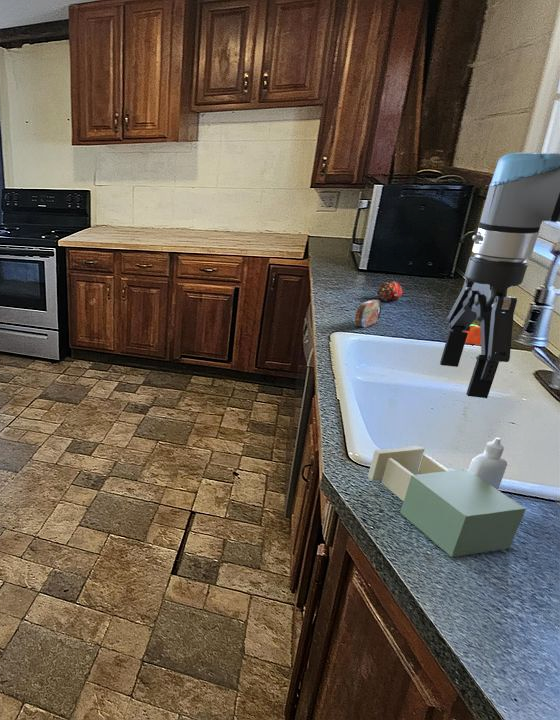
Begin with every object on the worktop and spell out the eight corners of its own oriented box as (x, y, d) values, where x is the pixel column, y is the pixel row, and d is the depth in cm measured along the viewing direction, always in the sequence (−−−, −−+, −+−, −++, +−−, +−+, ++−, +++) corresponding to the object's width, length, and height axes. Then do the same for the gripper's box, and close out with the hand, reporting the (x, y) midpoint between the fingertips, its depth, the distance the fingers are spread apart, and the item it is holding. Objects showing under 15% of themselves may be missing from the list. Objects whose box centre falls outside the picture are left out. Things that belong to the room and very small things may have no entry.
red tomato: (456, 347, 166) (462, 325, 163) (454, 340, 171) (460, 319, 169) (486, 351, 162) (494, 330, 160) (484, 345, 168) (491, 323, 165)
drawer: (363, 473, 100) (370, 446, 97) (407, 468, 101) (414, 442, 99) (405, 509, 90) (414, 480, 88) (453, 503, 92) (463, 474, 89)
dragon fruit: (381, 306, 212) (386, 304, 221) (403, 297, 207) (408, 296, 216) (371, 287, 213) (378, 286, 222) (394, 278, 208) (399, 277, 217)
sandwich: (360, 329, 180) (365, 306, 177) (351, 327, 183) (356, 304, 179) (379, 321, 189) (384, 298, 186) (370, 319, 192) (375, 296, 188)
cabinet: (400, 512, 90) (411, 475, 88) (453, 505, 92) (466, 468, 89) (451, 557, 81) (466, 516, 78) (509, 548, 83) (526, 508, 80)
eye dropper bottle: (455, 485, 98) (474, 429, 93) (491, 492, 96) (512, 435, 91) (462, 499, 94) (482, 441, 89) (499, 506, 92) (522, 447, 88)
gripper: (446, 243, 95) (417, 352, 103) (504, 272, 73) (462, 408, 81) (494, 245, 93) (461, 356, 101) (569, 276, 71) (519, 415, 79)
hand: (461, 380), depth 91 cm, fingers open, 13 cm apart
